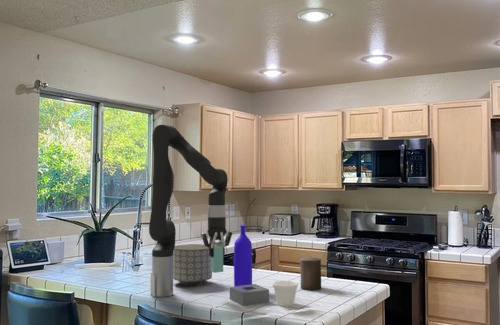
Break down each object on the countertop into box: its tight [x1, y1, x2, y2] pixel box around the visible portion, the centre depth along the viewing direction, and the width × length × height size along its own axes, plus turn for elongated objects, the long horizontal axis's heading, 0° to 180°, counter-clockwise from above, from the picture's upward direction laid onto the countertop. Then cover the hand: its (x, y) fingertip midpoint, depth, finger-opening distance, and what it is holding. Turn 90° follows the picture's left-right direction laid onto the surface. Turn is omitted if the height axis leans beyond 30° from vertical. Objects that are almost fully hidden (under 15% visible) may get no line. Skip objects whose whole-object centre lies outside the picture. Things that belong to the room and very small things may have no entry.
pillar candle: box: [299, 256, 322, 291], centre depth 223 cm, size 10×10×15 cm
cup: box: [272, 280, 298, 307], centre depth 190 cm, size 10×10×9 cm
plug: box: [211, 241, 224, 274], centre depth 201 cm, size 4×4×12 cm
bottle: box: [233, 224, 253, 287], centre depth 217 cm, size 8×8×30 cm
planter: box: [173, 243, 213, 287], centre depth 234 cm, size 19×19×18 cm
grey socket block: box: [229, 283, 270, 306], centre depth 196 cm, size 12×12×6 cm
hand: (216, 256), depth 201 cm, fingers closed on plug, 4 cm apart
